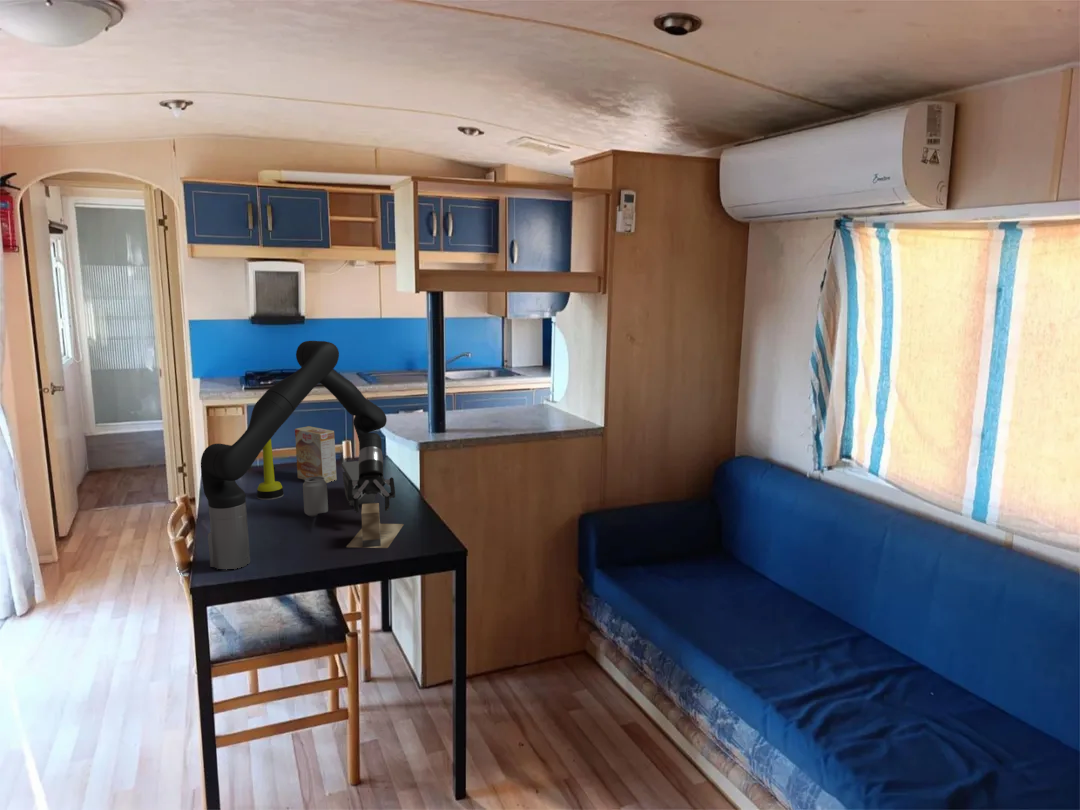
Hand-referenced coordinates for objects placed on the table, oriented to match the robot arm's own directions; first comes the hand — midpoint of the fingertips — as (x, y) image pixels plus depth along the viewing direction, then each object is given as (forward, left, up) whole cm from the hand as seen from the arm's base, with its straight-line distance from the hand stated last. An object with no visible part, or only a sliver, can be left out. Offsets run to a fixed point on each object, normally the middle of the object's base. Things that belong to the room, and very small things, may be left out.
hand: (371, 510), depth 223 cm
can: (-23, +16, -7) cm, 29 cm away
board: (+3, -6, -7) cm, 9 cm away
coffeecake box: (-37, +56, -7) cm, 68 cm away
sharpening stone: (-13, +31, -7) cm, 35 cm away
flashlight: (-46, +34, -7) cm, 58 cm away
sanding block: (+3, -11, -6) cm, 12 cm away
